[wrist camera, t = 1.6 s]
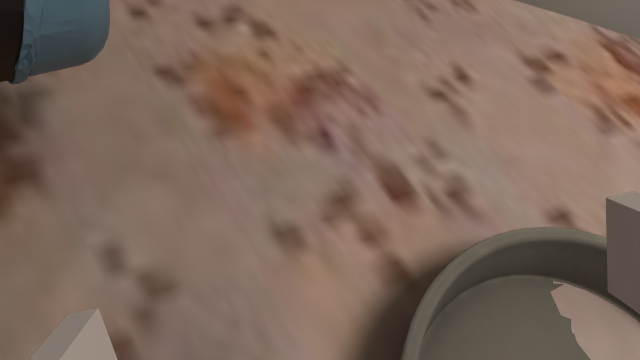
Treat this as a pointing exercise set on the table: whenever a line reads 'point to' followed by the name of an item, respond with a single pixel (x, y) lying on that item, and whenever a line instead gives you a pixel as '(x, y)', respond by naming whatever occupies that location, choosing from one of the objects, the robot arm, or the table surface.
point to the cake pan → (509, 298)
